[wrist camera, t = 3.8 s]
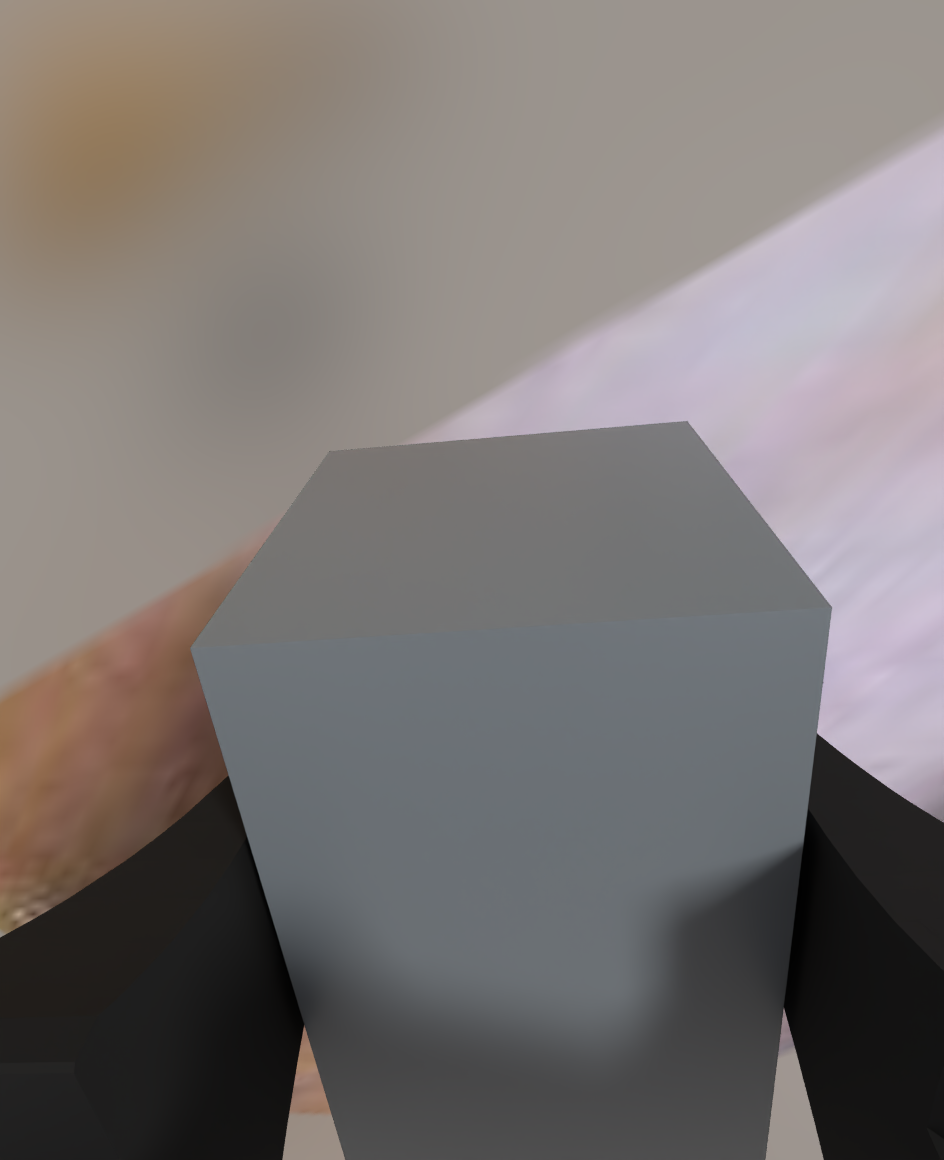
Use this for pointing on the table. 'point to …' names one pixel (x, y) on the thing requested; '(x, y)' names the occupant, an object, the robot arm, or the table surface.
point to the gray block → (528, 790)
